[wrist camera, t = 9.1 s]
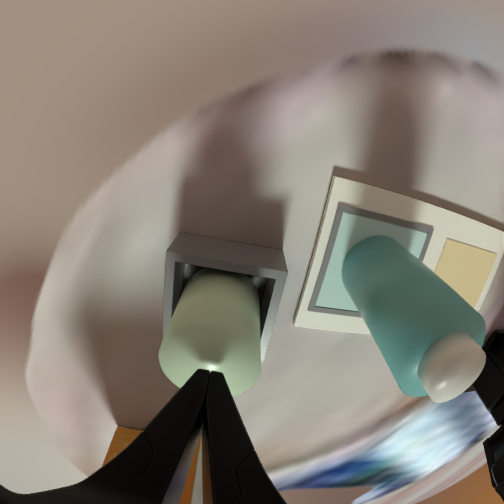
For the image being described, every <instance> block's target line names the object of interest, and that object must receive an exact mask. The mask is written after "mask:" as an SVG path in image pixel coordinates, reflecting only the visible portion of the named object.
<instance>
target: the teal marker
mask: <svg viewBox="0 0 504 504" xmlns="http://www.w3.org/2000/svg"><path fill="white" fill-rule="evenodd" d="M342 281H343V284H344V286H345V288H346V290H347V292H348V294H349V295H350V297H351V299H352V301H353V302H354V304H355V306H356V308H357V309H358V311H359V313H360V315H361V316H362V318H363V320H364V322H365V323H366V325H367V327H368V329H369V331H370V333H371V334H372V336H373V338H374V340H375V342H376V344H377V345H378V347H379V349H380V351H381V353H382V355H383V357H384V359H385V360H386V362H387V364H388V366H389V368H390V370H391V372H392V374H393V376H394V378H395V380H396V382H397V384H398V386H399V388H400V389H401V391H402V392H403V393H405V394H406V395H409V396H414V397H421V396H426V395H429V397H430V399H431V400H432V401H433V402H436V403H441V402H446V401H449V400H451V399H453V398H455V397H457V396H458V395H460V394H461V393H463V392H464V391H465V390H466V389H468V388H469V387H470V386H471V385H472V384H473V383H474V381H475V380H476V379H477V378H478V376H479V375H480V373H481V372H482V370H483V368H484V365H485V362H486V354H485V352H484V351H483V350H482V345H483V342H484V339H485V334H486V325H485V321H484V319H483V317H482V316H481V315H480V314H479V313H478V312H477V311H476V310H475V309H474V308H473V307H472V306H471V305H470V304H469V303H468V302H467V301H465V300H464V299H463V298H462V297H461V296H460V295H459V294H458V293H457V292H456V291H455V290H453V289H452V288H451V287H450V286H449V285H448V284H447V283H446V282H445V281H443V280H442V279H441V278H440V277H439V276H438V275H437V274H435V273H434V272H433V271H432V270H431V269H430V268H428V267H427V266H426V265H425V264H424V263H423V262H421V261H420V260H419V259H418V258H417V257H415V256H414V255H413V254H412V253H410V252H409V251H408V250H407V249H406V248H404V247H403V246H402V245H401V244H399V243H398V242H397V241H395V240H394V239H392V238H390V237H388V236H383V235H376V236H371V237H368V238H366V239H364V240H362V241H360V242H359V243H358V244H356V245H355V246H354V247H353V248H352V249H351V251H350V252H349V253H348V255H347V257H346V258H345V261H344V263H343V267H342Z"/></svg>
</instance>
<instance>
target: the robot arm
mask: <svg viewBox="0 0 504 504" xmlns="http://www.w3.org/2000/svg"><path fill="white" fill-rule="evenodd" d="M483 351H484V352H485V354H486V362H485V365H484V368H483V370H482V372H481V373H480V375H479V376H478V378H477V379H476V380H475V381H474V383H473V384H472V385H471V386H470V387H469V388H468V389H466V390H465V391H464V392H470V391H476V393H477V394H478V396H479V397H480V399H481V401H482V402H483V404H484V405H485V407H486V409H487V410H488V411H489V412H490V413H491V415H492V417H493V418H494V420H495V422H496V424H497V425H498V426H499V425H500V428H499V429H498V430H497V431H496V432H495V433H494V434H493V435H492V436H491V437H489V438H487V439H486V440H485V441H484V442H483V445H484V449H485V454H486V459H487V463H488V467H489V472H490V477H491V482H492V486H493V487H494V488H495V490H496V492H497V493H498V494H499V495H500V496H501V498H502V499H503V501H504V330H496V331H495V332H494V333H493V334H492V335H491V337H490V339H489V341H488V342H487V344H486V346H485V347H484V349H483ZM464 392H463V393H464ZM202 423H203V425H202ZM201 429H202V495H203V504H287V503H286V502H285V500H284V499H283V498H282V496H281V495H280V493H279V492H278V490H277V489H276V488H275V486H274V485H273V483H272V481H271V480H270V478H269V477H268V475H267V473H266V472H265V470H264V468H263V466H262V464H261V462H260V460H259V458H258V455H257V453H256V451H254V450H255V449H254V447H253V444H252V442H251V440H250V438H249V435H248V433H247V431H246V428H245V426H244V424H243V421H242V419H241V416H240V414H239V412H238V409H237V407H236V404H235V402H234V399H233V397H232V394H231V392H230V389H229V387H228V384H227V382H226V379H225V376H224V374H223V373H222V372H217V371H211V372H210V371H209V370H206V369H200V368H199V369H197V370H196V371H195V372H194V373H193V375H192V376H191V377H190V378H189V379H188V380H187V381H186V383H185V384H184V385H183V386H182V387H181V388H180V389H179V391H178V392H177V393H176V394H175V395H174V396H173V397H172V398H171V400H170V401H169V402H168V403H167V404H166V405H165V406H164V407H163V409H162V410H161V411H160V412H159V413H158V414H157V415H156V416H155V417H154V419H153V420H152V421H151V422H150V423H149V424H148V425H147V426H146V427H145V428H144V430H143V432H141V433H140V434H139V435H138V436H137V437H136V438H135V439H134V440H133V441H132V442H131V443H130V444H129V445H128V446H127V447H126V448H125V449H124V450H123V451H121V452H120V453H119V454H118V455H117V456H116V457H114V458H113V459H112V460H110V461H109V462H108V463H107V464H105V465H104V466H103V467H101V468H100V469H99V470H97V471H96V472H95V473H93V474H92V475H91V476H89V477H88V478H86V479H85V480H83V481H81V482H79V483H77V484H74V485H71V486H67V487H62V488H58V489H53V490H48V491H43V492H37V493H31V494H18V493H14V492H12V491H9V490H8V489H6V488H5V487H3V486H2V485H0V504H179V502H180V499H181V495H182V492H183V489H184V486H185V482H186V479H187V476H188V472H189V469H190V466H191V463H192V459H193V456H194V453H195V449H196V446H197V443H198V440H199V436H200V433H201Z"/></svg>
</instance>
